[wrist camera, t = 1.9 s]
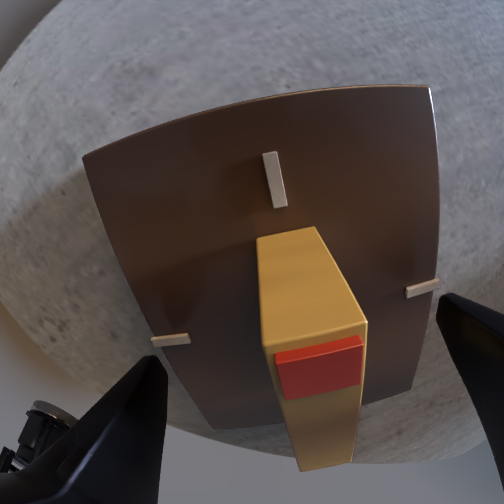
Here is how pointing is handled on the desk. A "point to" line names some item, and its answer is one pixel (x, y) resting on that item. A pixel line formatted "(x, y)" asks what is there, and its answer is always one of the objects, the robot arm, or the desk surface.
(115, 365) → the desk surface
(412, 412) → the desk surface
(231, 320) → the block
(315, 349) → the red-tabbed yellow block
